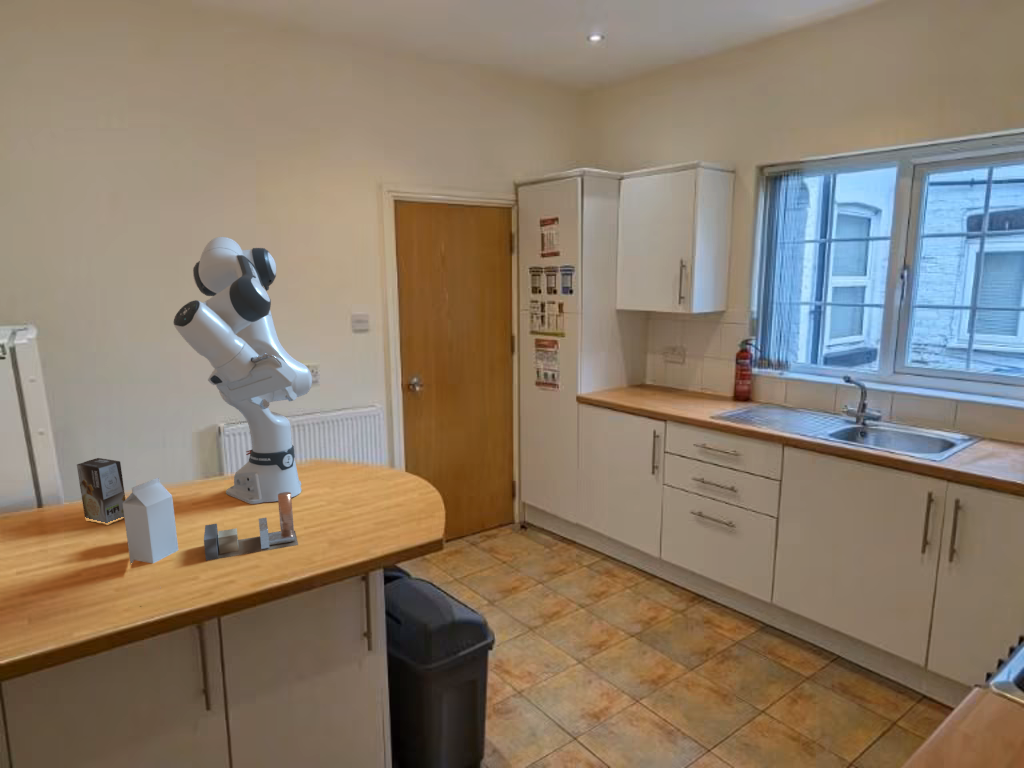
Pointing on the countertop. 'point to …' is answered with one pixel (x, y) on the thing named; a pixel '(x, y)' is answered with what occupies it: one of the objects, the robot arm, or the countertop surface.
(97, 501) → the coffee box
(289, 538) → the press handle
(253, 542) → the base
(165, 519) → the milk carton
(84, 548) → the countertop surface
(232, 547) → the block
